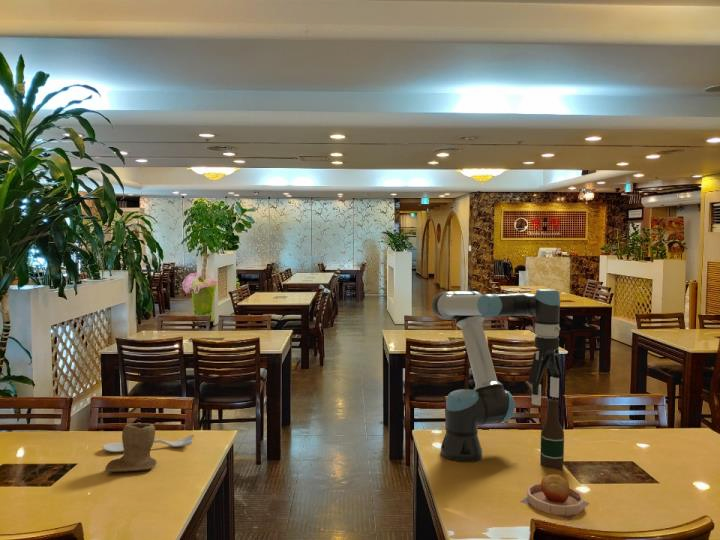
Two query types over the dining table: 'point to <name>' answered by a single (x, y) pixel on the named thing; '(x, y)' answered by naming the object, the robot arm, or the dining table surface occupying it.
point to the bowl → (558, 508)
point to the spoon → (178, 443)
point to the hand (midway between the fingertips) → (545, 400)
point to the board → (558, 515)
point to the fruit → (555, 488)
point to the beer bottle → (552, 439)
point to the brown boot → (135, 449)
